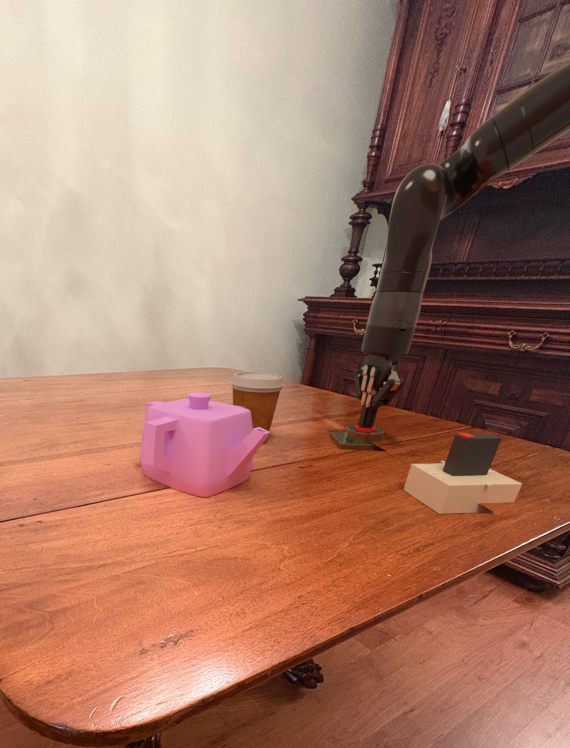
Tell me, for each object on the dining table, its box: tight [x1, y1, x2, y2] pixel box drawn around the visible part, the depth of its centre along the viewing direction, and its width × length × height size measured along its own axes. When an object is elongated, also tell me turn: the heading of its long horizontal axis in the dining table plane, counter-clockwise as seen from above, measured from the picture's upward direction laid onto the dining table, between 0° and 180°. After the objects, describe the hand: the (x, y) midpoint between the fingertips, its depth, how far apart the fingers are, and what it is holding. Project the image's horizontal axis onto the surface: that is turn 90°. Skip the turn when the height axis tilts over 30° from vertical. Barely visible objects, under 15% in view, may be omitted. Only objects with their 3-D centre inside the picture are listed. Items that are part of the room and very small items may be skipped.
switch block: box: [329, 424, 387, 452], centre depth 81 cm, size 10×8×3 cm
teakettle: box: [139, 391, 271, 498], centre depth 62 cm, size 17×17×12 cm
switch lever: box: [443, 432, 503, 476], centre depth 56 cm, size 5×2×5 cm, turn 96°
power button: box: [354, 424, 376, 432], centre depth 80 cm, size 4×4×2 cm
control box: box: [403, 460, 523, 515], centre depth 58 cm, size 10×9×4 cm
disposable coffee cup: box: [230, 371, 285, 446], centre depth 79 cm, size 10×10×12 cm
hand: (365, 426), depth 80 cm, fingers closed
